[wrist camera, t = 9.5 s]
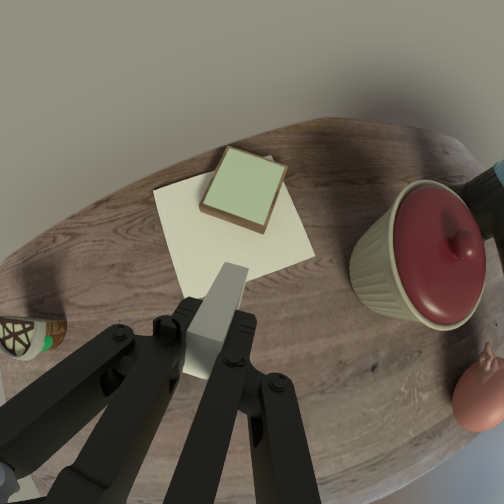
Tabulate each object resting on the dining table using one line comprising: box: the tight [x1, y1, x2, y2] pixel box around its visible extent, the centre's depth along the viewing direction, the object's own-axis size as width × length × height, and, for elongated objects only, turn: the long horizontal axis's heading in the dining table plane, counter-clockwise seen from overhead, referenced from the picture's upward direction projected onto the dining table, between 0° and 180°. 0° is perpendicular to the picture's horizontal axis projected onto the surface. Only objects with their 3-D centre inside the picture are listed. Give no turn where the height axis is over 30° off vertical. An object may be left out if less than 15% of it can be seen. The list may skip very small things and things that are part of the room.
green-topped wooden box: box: [199, 146, 288, 235], centre depth 40 cm, size 3×10×11 cm
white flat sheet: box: [153, 155, 315, 299], centre depth 40 cm, size 20×18×1 cm
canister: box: [349, 180, 486, 331], centre depth 31 cm, size 18×18×21 cm
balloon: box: [452, 342, 504, 432], centre depth 31 cm, size 15×20×15 cm
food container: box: [0, 316, 67, 361], centre depth 29 cm, size 12×6×10 cm, turn 93°
